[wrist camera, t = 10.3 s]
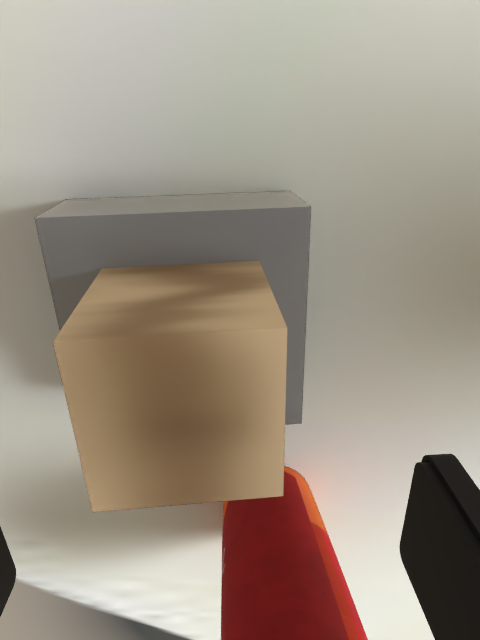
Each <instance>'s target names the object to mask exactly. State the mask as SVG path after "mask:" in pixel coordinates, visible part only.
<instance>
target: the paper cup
mask: <svg viewBox="0 0 480 640" xmlns="http://www.w3.org/2000/svg"><path fill="white" fill-rule="evenodd" d="M221 640H368V639H367V637H366V634H365V631H364V629H363V626H362V623H361V621H360V618H359V615H358V613H357V610H356V607H355V605H354V602H353V599H352V597H351V594H350V591H349V589H348V586H347V583H346V581H345V578H344V575H343V573H342V570H341V567H340V565H339V562H338V560H337V557H336V554H335V552H334V549H333V546H332V544H331V541H330V538H329V536H328V533H327V531H326V528H325V525H324V523H323V520H322V518H321V515H320V512H319V510H318V507H317V505H316V502H315V500H314V497H313V495H312V493H311V490H310V488H309V486H308V484H307V482H306V480H305V479H304V478H303V477H302V475H300V474H299V473H298V472H296V471H295V470H293V469H291V468H288V467H285V466H284V486H283V496H279V497H267V498H255V499H244V500H232V501H224V506H223V534H222V600H221Z"/></svg>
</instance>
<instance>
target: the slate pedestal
mask: <svg viewBox="0 0 480 640" xmlns="http://www.w3.org/2000/svg"><path fill="white" fill-rule="evenodd" d="M310 220H311V206H310V205H308V204H307V203H306V202H304V201H303V200H302V199H301V198H299V197H298V196H297V195H295V194H294V193H293V192H291V191H275V192H248V193H222V194H196V195H170V196H144V197H117V198H91V199H66V200H65V201H63V202H61V203H59V204H58V205H56V206H54V207H53V208H51V209H49V210H47V211H46V212H44V213H42V214H40V215H39V216H37V217H35V221H36V226H37V230H38V235H39V239H40V244H41V248H42V253H43V257H44V262H45V266H46V271H47V275H48V280H49V284H50V288H51V293H52V297H53V302H54V306H55V311H56V315H57V320H58V324H59V329H60V330H61V329H62V327H63V326H64V324H65V323H66V321H67V320H68V318H69V317H70V315H71V314H72V312H73V311H74V309H75V308H76V306H77V305H78V303H79V302H80V300H81V299H82V297H83V296H84V294H85V293H86V291H87V290H88V288H89V287H90V285H91V284H92V282H93V281H94V280H95V278H96V277H97V275H98V274H99V272H100V271H101V269H102V268H120V267H140V266H161V265H182V264H203V263H224V262H245V261H260V264H261V266H262V269H263V271H264V273H265V276H266V278H267V281H268V283H269V285H270V288H271V290H272V292H273V295H274V297H275V300H276V302H277V304H278V307H279V309H280V311H281V314H282V316H283V319H284V321H285V323H286V326H287V365H286V405H285V425H287V424H300V423H302V401H303V379H304V356H305V333H306V310H307V288H308V265H309V242H310Z"/></svg>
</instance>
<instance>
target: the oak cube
mask: <svg viewBox="0 0 480 640" xmlns="http://www.w3.org/2000/svg"><path fill="white" fill-rule="evenodd" d="M53 345H54V349H55V353H56V357H57V362H58V366H59V370H60V375H61V379H62V383H63V387H64V392H65V396H66V400H67V405H68V409H69V413H70V417H71V422H72V426H73V430H74V434H75V439H76V443H77V447H78V452H79V456H80V460H81V464H82V469H83V473H84V477H85V481H86V486H87V490H88V494H89V499H90V503H91V507H92V511H93V512H101V511H113V510H125V509H136V508H148V507H160V506H172V505H184V504H196V503H208V502H220V501H232V500H244V499H255V498H267V497H279V496H283V486H284V446H285V405H286V365H287V326H286V323H285V321H284V319H283V316H282V314H281V311H280V309H279V307H278V304H277V302H276V300H275V297H274V295H273V292H272V290H271V288H270V285H269V283H268V281H267V278H266V276H265V273H264V271H263V269H262V266H261V264H260V261H245V262H224V263H203V264H182V265H161V266H140V267H120V268H102V269H101V271H100V272H99V274H98V275H97V277H96V278H95V280H94V281H93V282H92V284H91V285H90V287H89V288H88V290H87V291H86V293H85V294H84V296H83V297H82V299H81V300H80V302H79V303H78V305H77V306H76V308H75V309H74V311H73V312H72V314H71V315H70V317H69V318H68V320H67V321H66V323H65V324H64V326H63V327H62V329H61V330H60V332H59V333H58V335H57V336H56V338H55V339H54V341H53Z"/></svg>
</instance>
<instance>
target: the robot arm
mask: <svg viewBox="0 0 480 640" xmlns="http://www.w3.org/2000/svg"><path fill="white" fill-rule="evenodd" d="M400 554H401V558H402V562H403V564H404V567H405V569H406V571H407V574H408V576H409V579H410V581H411V583H412V586H413V588H414V591H415V593H416V595H417V598H418V600H419V602H420V605H421V607H422V610H423V612H424V614H425V617H426V619H427V622H428V624H429V626H430V629H431V631H432V633H433V636H434V638H435V640H480V490H479V489H478V487H477V486H476V485H475V483H474V482H473V480H472V479H471V477H470V476H469V475H468V473H467V472H466V470H465V469H464V468H463V466H462V465H461V463H460V462H459V461H458V459H457V458H456V457H455V456H454V455H452V454H440V455H425V456H424V457H423V459H422V462H419V463H416V465H415V468H414V473H413V479H412V484H411V489H410V494H409V499H408V504H407V510H406V515H405V520H404V525H403V530H402V535H401V541H400ZM15 579H16V568H15V565H14V562H13V559H12V557H11V554H10V551H9V549H8V546H7V543H6V541H5V538H4V535H3V532H2V530H1V527H0V616H1V614H2V612H3V609H4V607H5V605H6V603H7V600H8V598H9V596H10V593H11V591H12V589H13V586H14V583H15Z"/></svg>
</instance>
